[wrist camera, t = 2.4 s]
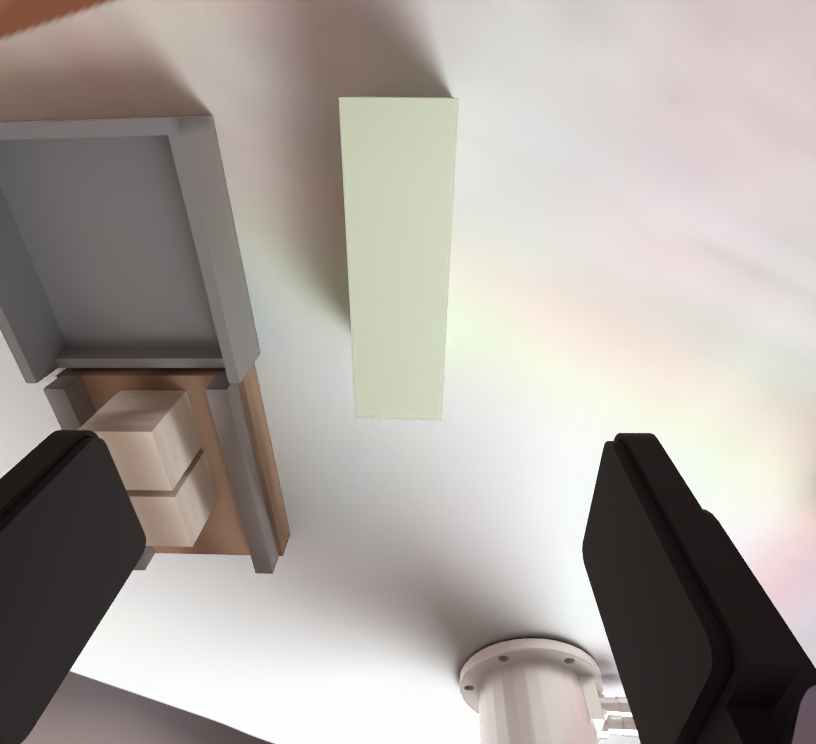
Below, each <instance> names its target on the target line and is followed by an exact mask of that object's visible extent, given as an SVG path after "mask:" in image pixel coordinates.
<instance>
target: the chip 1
mask: <svg viewBox="0 0 816 744" xmlns="http://www.w3.org/2000/svg"><path fill="white" fill-rule="evenodd" d="M78 430H90V431H93V432H94V433H96V434H97V436H98V437H99V438H101V439H103V440H104V441H105V443H106V444H107V447H108V449H109V451H110V454H111V456H112V458H113V461H114V463H115V465H116V468H117V470H118V472H119V475H120V477H121V479H122V482H123V484H124V486H125V489H126V490H169V491H172V490H173V489H174V487H175V486H176V484H177V483H178V481H179V480H180V478H181V477H182V475H183V474H184V472H185V471H186V469H187V468H188V466H189V465H190V463H191V462H192V460H193V459H194V457H195V456H196V454H197V453H198V451H199V450H200V448H201V447H202V441H201V438H200V435H199V431H198V428H197V425H196V421H195V418H194V414H193V411H192V408H191V404H190V401H189V398H188V394H187V391H173V390H120V391H119V392H118V393H117V394H116V395H115V396H113V397H112V398H111V399H110V400H109V401H108V402H107V403H106V404H105V405H104V406H103V407H102V408H101V409H100V410H99V411H97V412H96V413H95V414H94V415H93V416H92V417H91V418H90V419H89V420H88V421H87V422H86V423H85V424H84V425H82V426H81V427H80V428H79V429H78Z"/></svg>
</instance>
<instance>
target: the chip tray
mask: <svg viewBox="0 0 816 744" xmlns="http://www.w3.org/2000/svg"><path fill="white" fill-rule="evenodd" d="M0 330H1V332H2V334H3V336H4V338H5V340H6V342H7V344H8V346H9V348H10V350H11V352H12V354H13V356H14V358H15V360H16V362H17V365H18V367H19V369H20V371H21V373H22V375H23V377H24V379H25V381H26V383H37V382H39V381H40V380H42V379H43V378H44V377H46V376H47V375H48V374H50V373H51V372H53V371H54V370H55V369H57V368H225V370H226V374H227V378H228V382H229V383H240V382H241V381H242V379H243V378H244V376H245V375H246V373H247V372H248V371H249V369H250V368H251V366H252V365H253V363H254V362H255V360H256V359H257V357H258V356H259V354H260V349H259V344H258V339H257V334H256V329H255V324H254V319H253V314H252V309H251V304H250V299H249V294H248V290H247V285H246V280H245V275H244V270H243V265H242V260H241V255H240V250H239V245H238V240H237V235H236V230H235V225H234V220H233V215H232V210H231V205H230V200H229V195H228V190H227V185H226V180H225V175H224V170H223V165H222V160H221V155H220V150H219V145H218V140H217V135H216V130H215V125H214V120H213V115H207V116H174V117H141V118H108V119H75V120H42V121H9V122H0Z"/></svg>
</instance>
